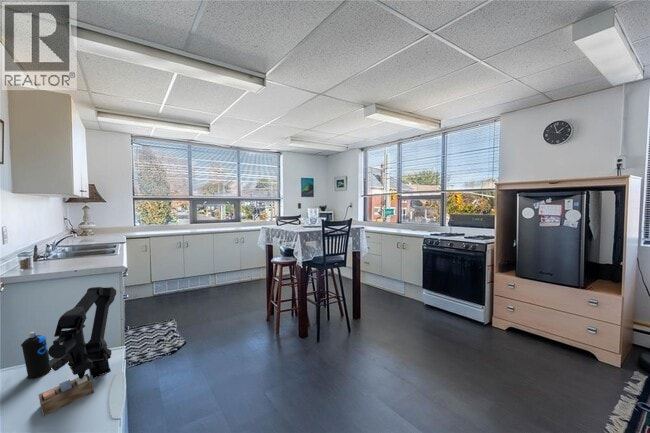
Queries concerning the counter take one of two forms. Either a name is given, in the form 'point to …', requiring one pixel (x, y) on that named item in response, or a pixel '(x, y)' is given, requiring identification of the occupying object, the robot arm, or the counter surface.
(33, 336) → the aerosol can
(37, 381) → the counter surface
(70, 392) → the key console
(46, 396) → the key terracotta
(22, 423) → the counter surface
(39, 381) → the counter surface
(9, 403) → the counter surface
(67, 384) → the key blue
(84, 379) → the key cream
